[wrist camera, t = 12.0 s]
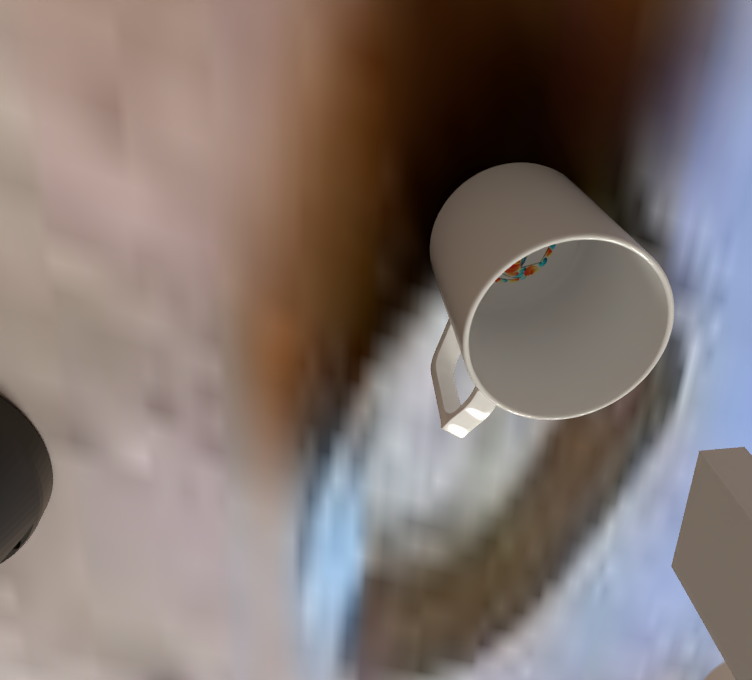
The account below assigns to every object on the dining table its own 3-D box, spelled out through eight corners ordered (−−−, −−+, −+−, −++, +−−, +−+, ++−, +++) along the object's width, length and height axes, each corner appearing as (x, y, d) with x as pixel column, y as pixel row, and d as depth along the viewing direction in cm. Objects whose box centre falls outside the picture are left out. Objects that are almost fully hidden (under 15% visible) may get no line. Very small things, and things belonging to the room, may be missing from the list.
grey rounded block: (494, 121, 35) (561, 190, 25) (618, 212, 38) (719, 304, 28) (363, 300, 39) (377, 416, 30) (482, 369, 42) (530, 494, 33)
